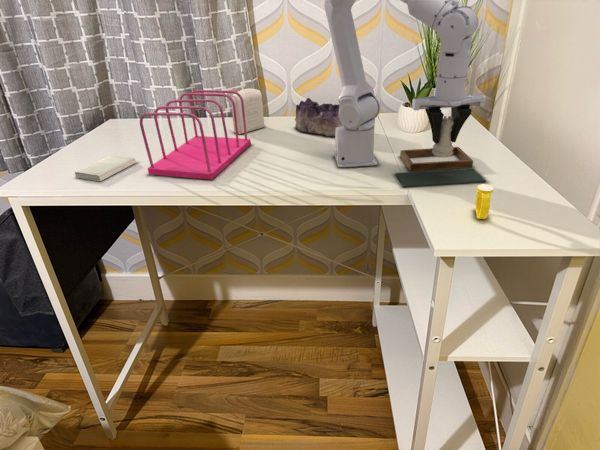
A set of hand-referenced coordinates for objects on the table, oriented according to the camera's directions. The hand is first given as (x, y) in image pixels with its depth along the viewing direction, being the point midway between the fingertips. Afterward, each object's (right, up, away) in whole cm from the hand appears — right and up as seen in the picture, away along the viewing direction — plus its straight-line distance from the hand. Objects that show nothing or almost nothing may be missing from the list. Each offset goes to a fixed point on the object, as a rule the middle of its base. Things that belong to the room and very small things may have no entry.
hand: (443, 141), depth 92 cm
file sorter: (-56, -1, +22) cm, 60 cm away
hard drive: (-80, -4, +18) cm, 82 cm away
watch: (+3, -16, -11) cm, 20 cm away
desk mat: (0, -8, +4) cm, 9 cm away
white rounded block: (-46, +11, +42) cm, 64 cm away
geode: (-23, +10, +37) cm, 45 cm away
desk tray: (+2, -3, +12) cm, 13 cm away
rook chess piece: (0, -3, +2) cm, 3 cm away
